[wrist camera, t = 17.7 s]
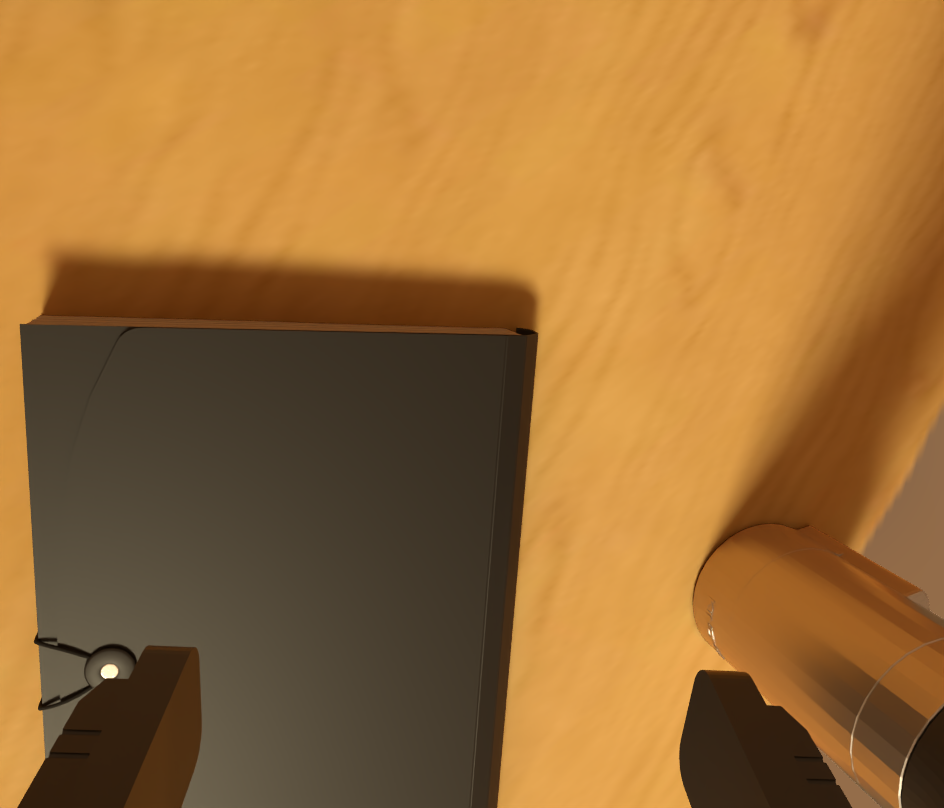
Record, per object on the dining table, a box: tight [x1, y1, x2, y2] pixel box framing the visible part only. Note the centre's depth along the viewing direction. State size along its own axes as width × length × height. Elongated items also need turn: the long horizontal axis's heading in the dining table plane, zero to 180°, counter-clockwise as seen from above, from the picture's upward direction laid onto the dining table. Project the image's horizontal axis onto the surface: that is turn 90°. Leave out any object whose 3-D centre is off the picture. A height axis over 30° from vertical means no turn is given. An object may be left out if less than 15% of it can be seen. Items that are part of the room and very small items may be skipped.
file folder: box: [20, 315, 538, 808], centre depth 43 cm, size 33×4×24 cm
